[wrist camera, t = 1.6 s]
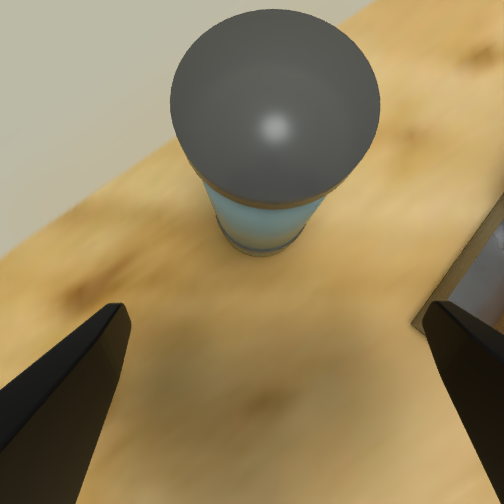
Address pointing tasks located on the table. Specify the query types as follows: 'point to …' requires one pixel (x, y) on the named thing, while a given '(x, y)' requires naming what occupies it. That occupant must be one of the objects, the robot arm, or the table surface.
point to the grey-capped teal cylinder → (273, 120)
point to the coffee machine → (477, 275)
